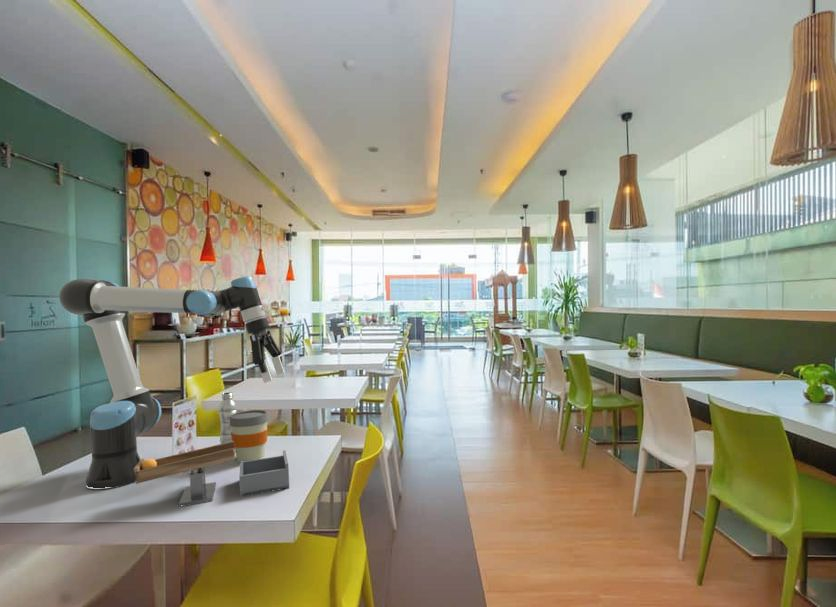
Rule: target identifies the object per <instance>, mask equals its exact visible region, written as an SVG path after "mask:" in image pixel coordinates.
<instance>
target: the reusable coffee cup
mask: <svg viewBox="0 0 836 607" xmlns="http://www.w3.org/2000/svg"><path fill="white" fill-rule="evenodd" d="M268 421H269V416H268V411H267V410H261V409H255V410H254V409H253V410H250V409H249V410H243V411H239V412H237V413H235V414H233V415H231V416H230V426H231V429H232V432H231V436H232V441H234V444H235V450H236V452H235V458H236V461H237V462H240V461H242V462H243V461H249V460H256V459H260V458H261V459H263V458H264V457H265V452H266V443H267V441H268V431H269V428H268ZM263 456H264V457H263ZM262 457H263V458H262Z"/></svg>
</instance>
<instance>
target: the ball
mask: <svg viewBox="0 0 836 607" xmlns="http://www.w3.org/2000/svg"><path fill="white" fill-rule="evenodd" d="M144 460H145V461H144V462H143V463H142V466H141V468H142V470H143V469H147V468H152V467H156V466H157V462H156V461H155V460H156V459H154V458H147V459H144Z"/></svg>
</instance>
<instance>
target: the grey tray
mask: <svg viewBox="0 0 836 607" xmlns="http://www.w3.org/2000/svg"><path fill="white" fill-rule="evenodd" d="M289 474H290V473H289V462H288V456H287V452H286V450H282V455H277V456H276V455H275V456H271V457H269V456H268V457H263V458H261V459H256V460H249V461H243V462H240V466H239V475H238V476H239V479H238V480H239V497H246V496H251V494H253V495H258V494H257V493H259V494H262V493H261V492H264V493H268V492H267V491H270V492H273V491H272V490H276V491H279V490H278V489H281V490H284V489H283V488H287V489H290V475H289Z"/></svg>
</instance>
